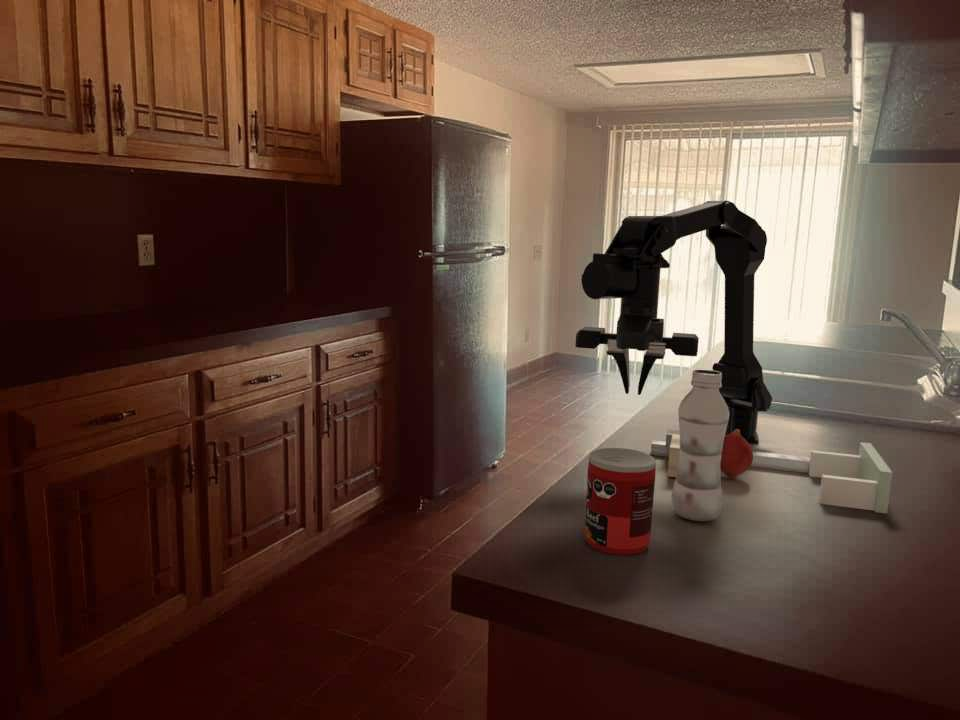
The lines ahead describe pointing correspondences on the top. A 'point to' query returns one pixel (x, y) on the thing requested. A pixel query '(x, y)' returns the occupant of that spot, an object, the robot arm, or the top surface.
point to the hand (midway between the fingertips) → (633, 393)
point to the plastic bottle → (701, 448)
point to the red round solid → (735, 454)
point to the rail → (754, 459)
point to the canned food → (619, 500)
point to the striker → (673, 449)
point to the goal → (853, 478)
